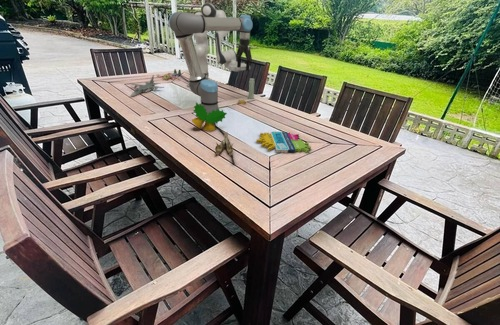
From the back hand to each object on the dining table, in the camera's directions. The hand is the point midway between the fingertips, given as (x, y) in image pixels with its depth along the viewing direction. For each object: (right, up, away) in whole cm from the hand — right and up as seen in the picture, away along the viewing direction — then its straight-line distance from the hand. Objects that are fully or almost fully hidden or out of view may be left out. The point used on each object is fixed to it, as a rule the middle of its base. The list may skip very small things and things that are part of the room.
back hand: (244, 69), depth 230 cm
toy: (-80, +10, +53) cm, 96 cm away
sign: (+24, -71, -78) cm, 108 cm away
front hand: (0, -9, -26) cm, 28 cm away
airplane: (-87, -19, 0) cm, 89 cm away
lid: (-2, -31, -14) cm, 34 cm away
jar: (+6, -25, +2) cm, 26 cm away
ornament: (-21, -61, -65) cm, 92 cm away
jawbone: (-9, -76, -91) cm, 119 cm away
